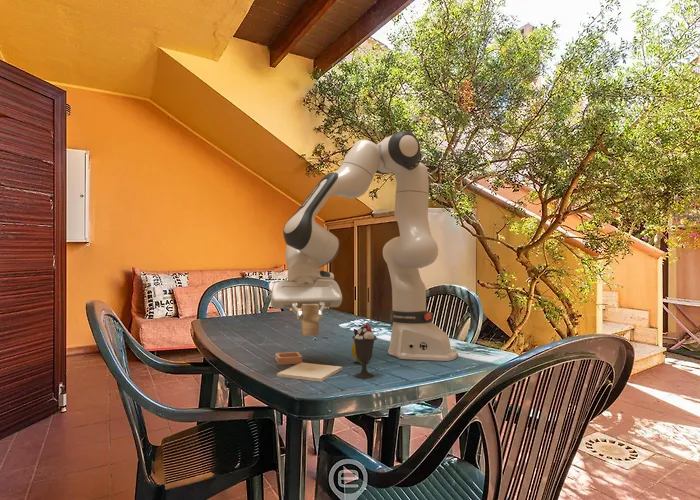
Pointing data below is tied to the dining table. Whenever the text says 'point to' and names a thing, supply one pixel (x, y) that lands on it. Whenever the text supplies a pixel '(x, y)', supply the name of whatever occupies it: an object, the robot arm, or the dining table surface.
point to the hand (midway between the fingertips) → (310, 317)
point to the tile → (310, 372)
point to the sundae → (364, 348)
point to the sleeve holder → (288, 358)
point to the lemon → (355, 352)
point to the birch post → (310, 319)
